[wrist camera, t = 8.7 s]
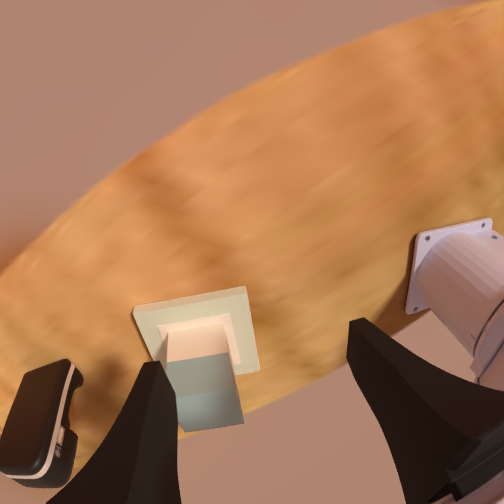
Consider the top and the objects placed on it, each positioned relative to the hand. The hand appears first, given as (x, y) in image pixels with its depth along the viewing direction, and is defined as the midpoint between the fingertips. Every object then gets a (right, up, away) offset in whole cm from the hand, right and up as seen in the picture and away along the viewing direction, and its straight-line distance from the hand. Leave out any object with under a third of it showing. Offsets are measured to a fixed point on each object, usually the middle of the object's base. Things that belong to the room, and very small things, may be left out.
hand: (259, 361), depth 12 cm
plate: (-4, -3, +12) cm, 13 cm away
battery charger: (-18, -7, +12) cm, 23 cm away
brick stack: (-4, -3, +11) cm, 13 cm away
